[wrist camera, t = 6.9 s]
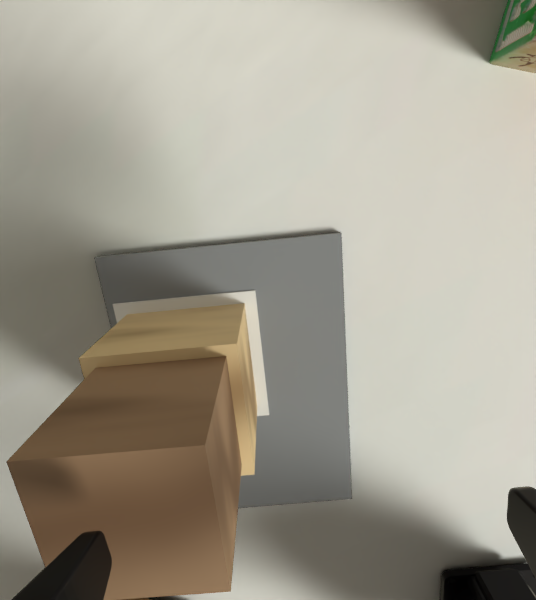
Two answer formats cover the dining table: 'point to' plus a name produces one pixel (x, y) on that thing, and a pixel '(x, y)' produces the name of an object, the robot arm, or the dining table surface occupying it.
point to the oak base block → (189, 354)
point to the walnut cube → (140, 476)
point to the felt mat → (265, 347)
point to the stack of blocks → (517, 37)
